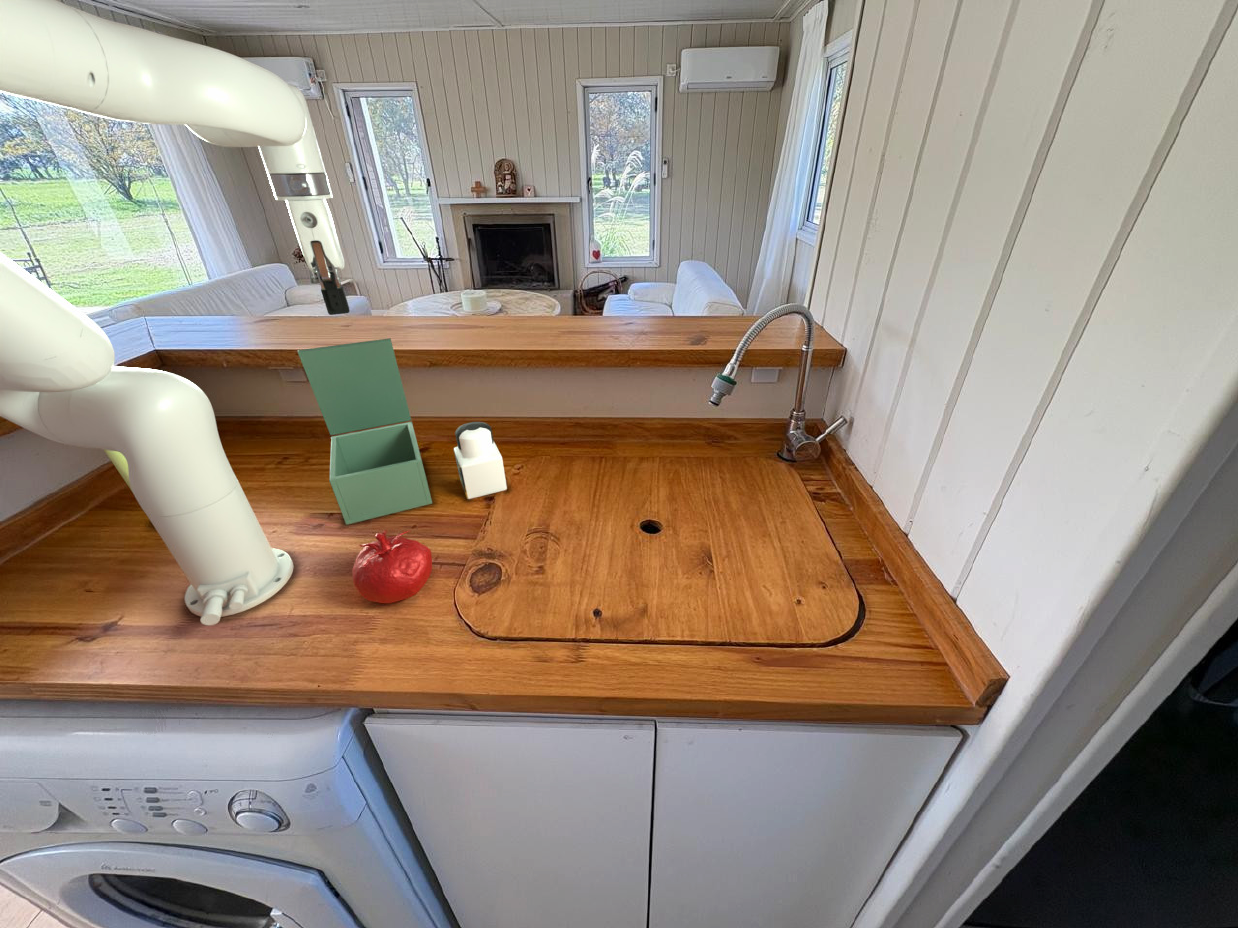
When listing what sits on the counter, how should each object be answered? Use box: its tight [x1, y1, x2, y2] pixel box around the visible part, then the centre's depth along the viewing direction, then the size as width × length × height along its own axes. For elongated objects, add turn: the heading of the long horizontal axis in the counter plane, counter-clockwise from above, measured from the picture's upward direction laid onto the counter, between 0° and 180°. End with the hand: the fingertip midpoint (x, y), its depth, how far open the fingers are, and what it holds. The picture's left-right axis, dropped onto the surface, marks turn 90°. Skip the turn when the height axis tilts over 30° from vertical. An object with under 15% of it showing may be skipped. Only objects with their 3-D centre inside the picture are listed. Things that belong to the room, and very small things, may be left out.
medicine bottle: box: [453, 421, 508, 500], centre depth 88 cm, size 7×7×12 cm
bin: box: [329, 421, 433, 526], centre depth 87 cm, size 16×14×9 cm
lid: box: [297, 338, 412, 436], centre depth 85 cm, size 16×14×1 cm
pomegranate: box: [351, 529, 433, 604], centre depth 67 cm, size 10×10×9 cm
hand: (339, 312), depth 83 cm, fingers closed
